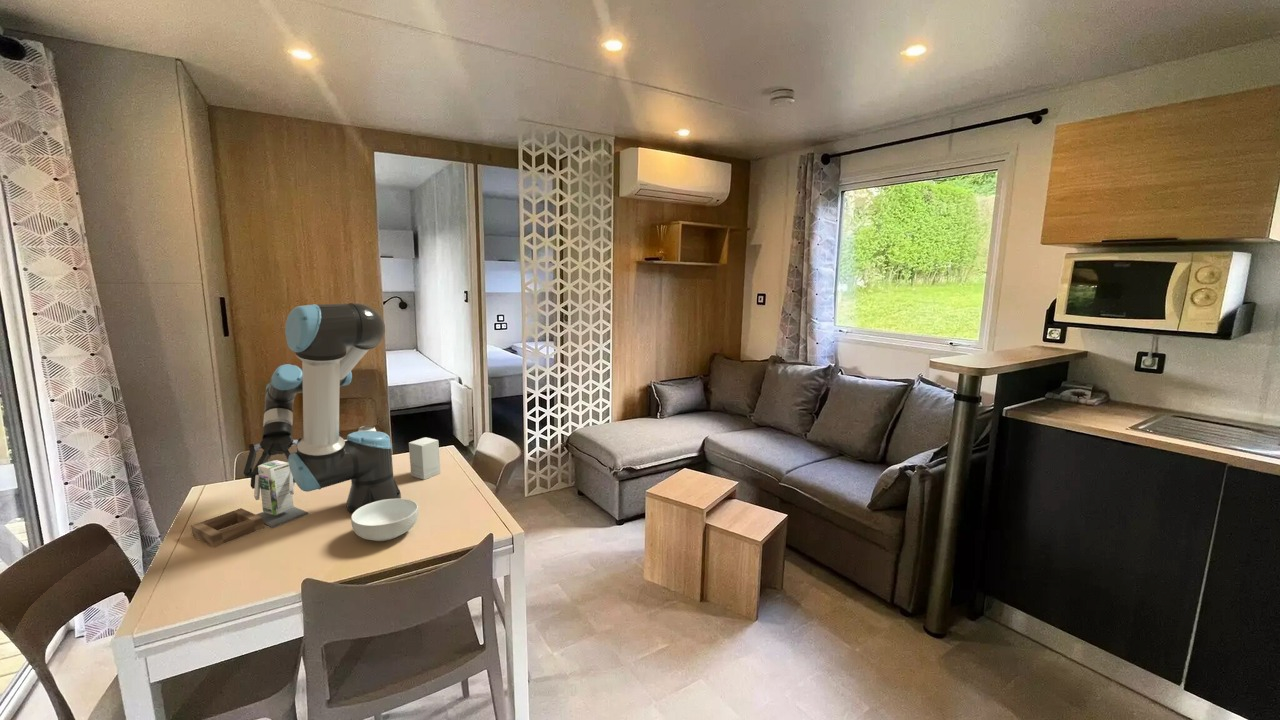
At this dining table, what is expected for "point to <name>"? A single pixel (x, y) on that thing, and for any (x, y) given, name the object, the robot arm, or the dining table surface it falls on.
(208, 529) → the pocket
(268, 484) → the syrup box
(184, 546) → the dining table surface
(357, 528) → the cereal bowl
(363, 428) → the can
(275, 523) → the mat
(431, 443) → the supplement box
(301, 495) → the dining table surface
